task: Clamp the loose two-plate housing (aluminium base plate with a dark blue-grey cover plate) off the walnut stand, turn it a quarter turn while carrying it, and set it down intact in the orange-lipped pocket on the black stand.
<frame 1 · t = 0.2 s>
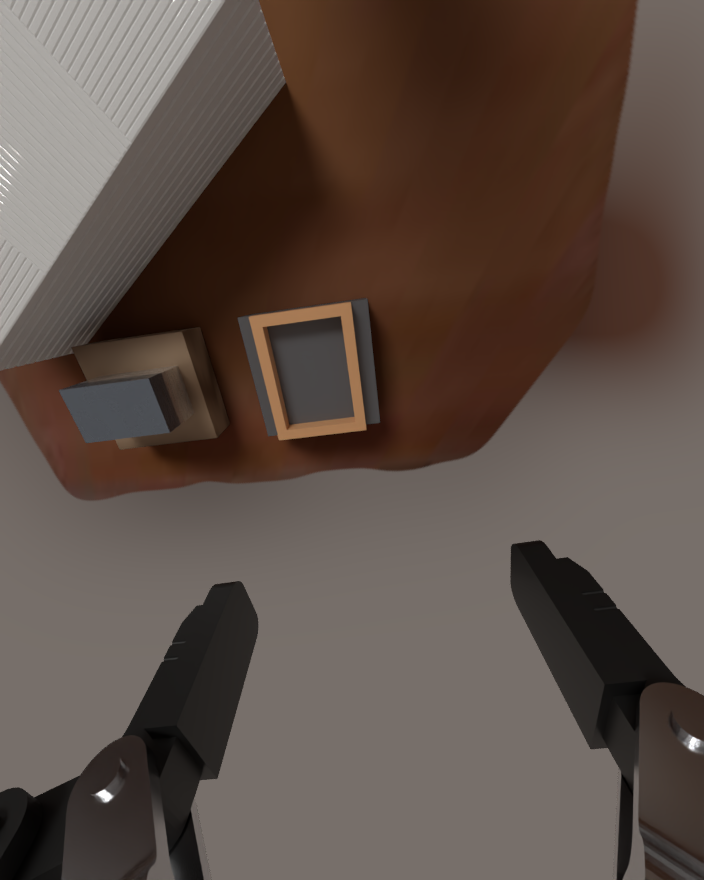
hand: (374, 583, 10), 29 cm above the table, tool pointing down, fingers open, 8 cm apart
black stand: (317, 365, 36), on the table
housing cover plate: (130, 404, 31), point 7 cm above the table, touching housing base plate
walnut stand: (168, 384, 37), on the table
stack of papers: (121, 185, 30), on the table
housing base plate: (148, 395, 33), point 4 cm above the table, touching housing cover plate, walnut stand
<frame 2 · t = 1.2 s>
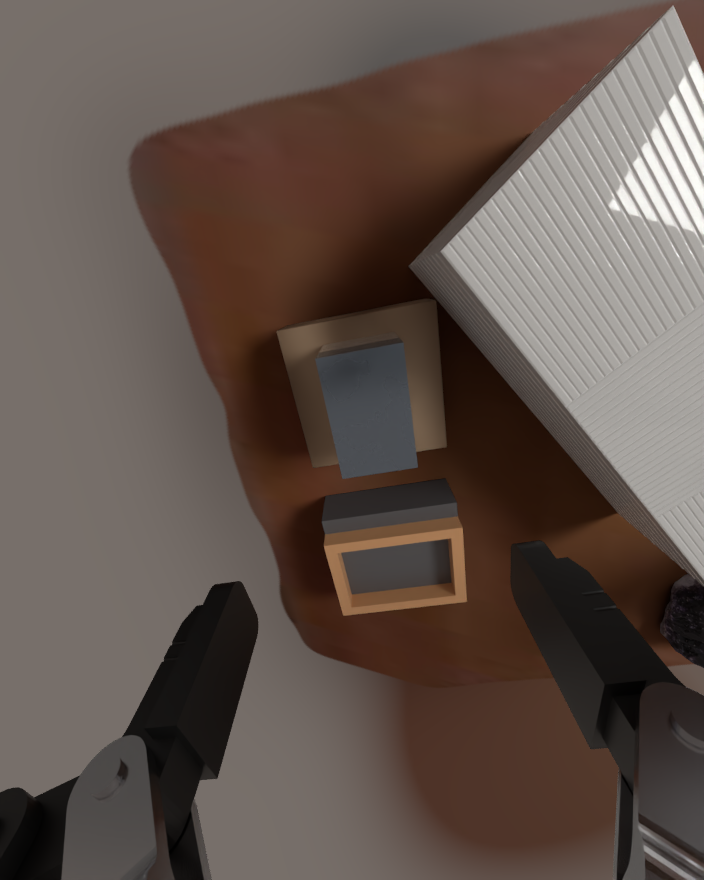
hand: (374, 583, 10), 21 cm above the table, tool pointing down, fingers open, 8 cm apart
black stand: (392, 534, 35), on the table
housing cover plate: (369, 406, 22), point 7 cm above the table, touching housing base plate
walnut stand: (366, 379, 28), on the table
stack of papers: (581, 364, 28), on the table
housing base plate: (367, 393, 24), point 4 cm above the table, touching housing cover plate, walnut stand
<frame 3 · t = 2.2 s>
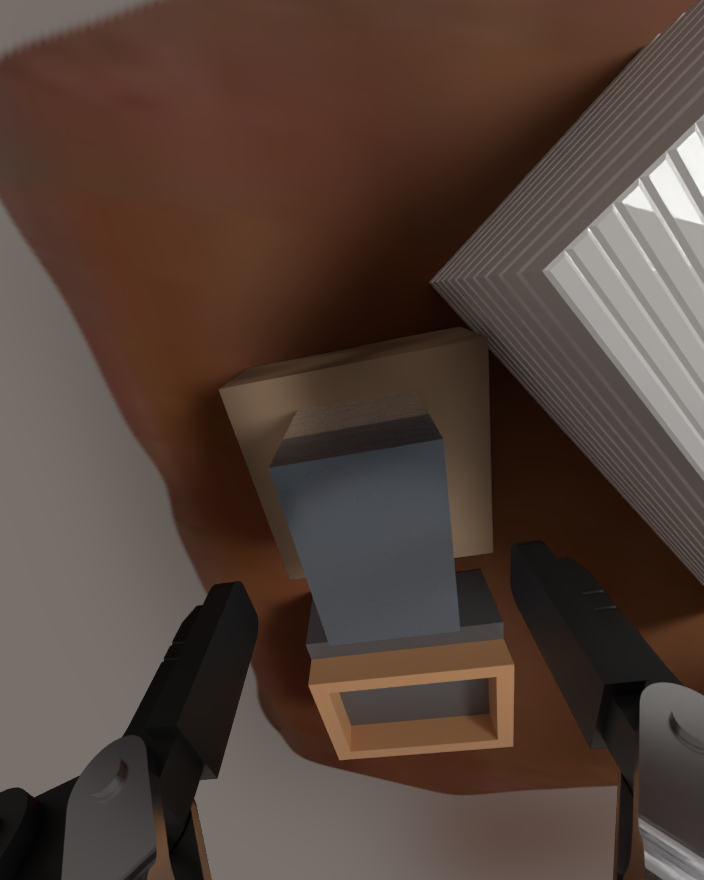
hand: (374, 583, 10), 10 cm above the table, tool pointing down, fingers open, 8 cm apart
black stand: (405, 635, 26), on the table
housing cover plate: (373, 521, 13), point 7 cm above the table, touching housing base plate
walnut stand: (368, 443, 19), on the table
stack of papers: (689, 416, 19), on the table
housing base plate: (371, 480, 15), point 4 cm above the table, touching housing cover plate, walnut stand
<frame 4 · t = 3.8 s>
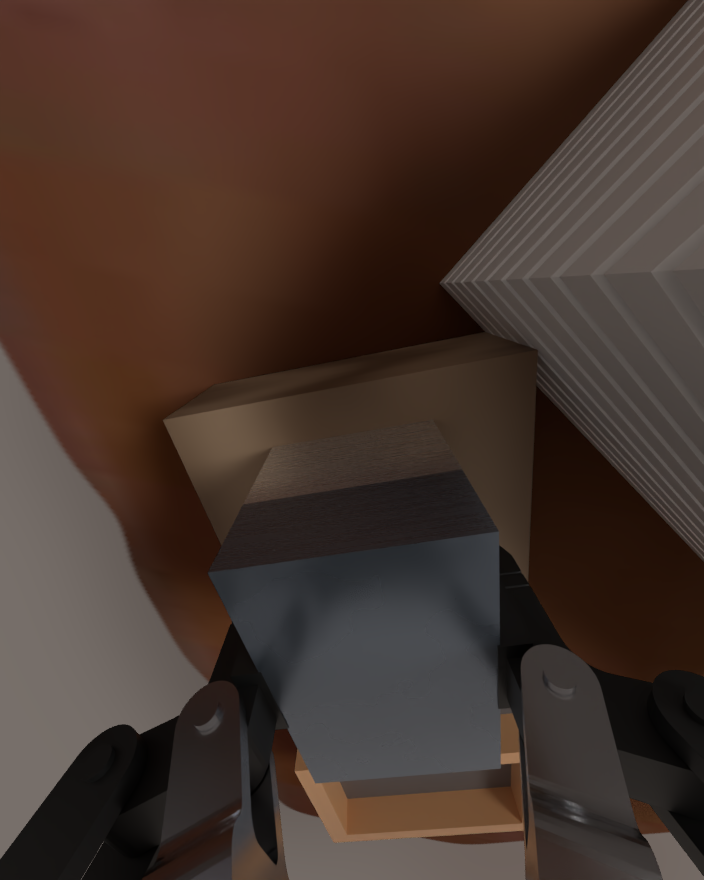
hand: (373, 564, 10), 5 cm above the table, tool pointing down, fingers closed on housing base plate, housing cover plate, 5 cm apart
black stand: (410, 687, 22), on the table
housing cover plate: (377, 609, 9), point 7 cm above the table, touching gripper, housing base plate
walnut stand: (368, 476, 15), on the table
housing base plate: (372, 534, 12), point 4 cm above the table, touching gripper, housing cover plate, walnut stand
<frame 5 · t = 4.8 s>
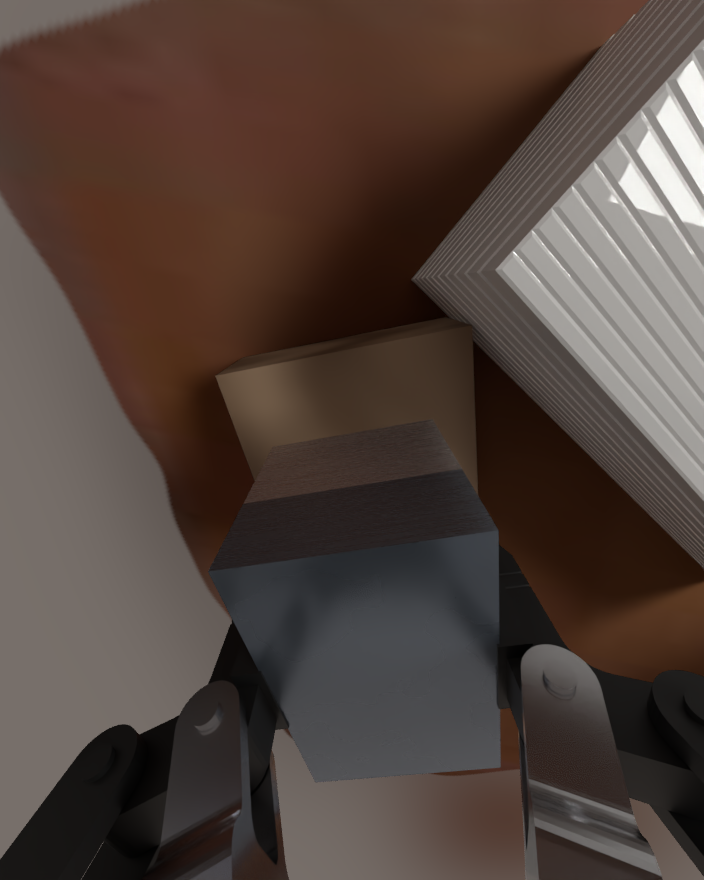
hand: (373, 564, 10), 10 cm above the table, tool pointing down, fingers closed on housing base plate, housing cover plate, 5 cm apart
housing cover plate: (377, 608, 9), point 12 cm above the table, touching gripper, housing base plate
walnut stand: (360, 431, 20), on the table
stack of papers: (668, 395, 19), on the table
housing base plate: (372, 533, 12), point 9 cm above the table, touching gripper, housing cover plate
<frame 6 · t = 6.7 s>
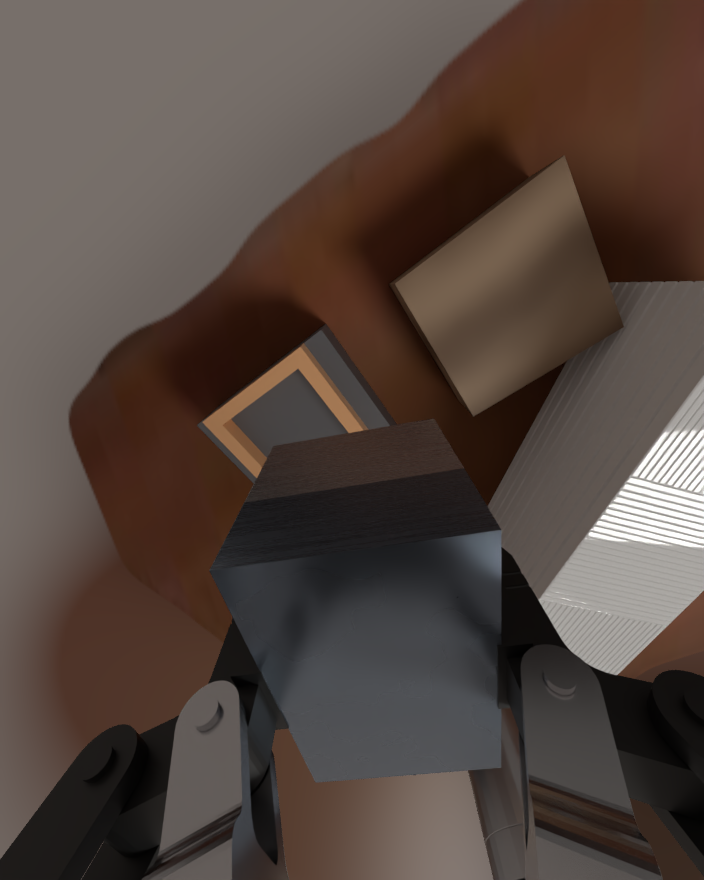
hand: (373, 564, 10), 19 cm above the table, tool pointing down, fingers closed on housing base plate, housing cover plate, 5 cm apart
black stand: (313, 422, 29), on the table
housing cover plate: (378, 607, 9), point 21 cm above the table, touching gripper, housing base plate
walnut stand: (489, 303, 25), on the table
stack of papers: (558, 475, 32), on the table
housing base plate: (372, 533, 12), point 18 cm above the table, touching gripper, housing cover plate
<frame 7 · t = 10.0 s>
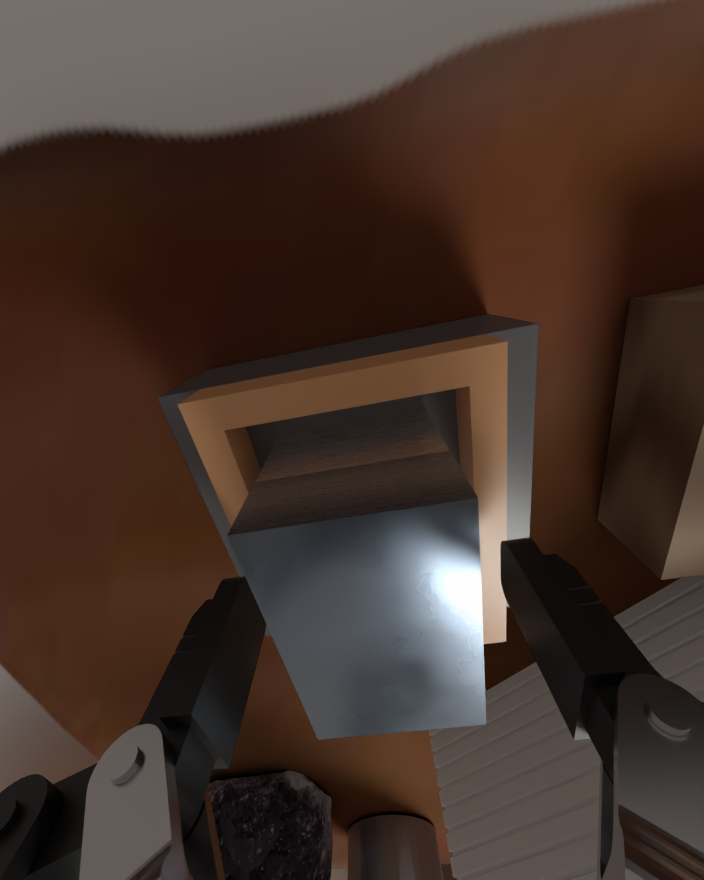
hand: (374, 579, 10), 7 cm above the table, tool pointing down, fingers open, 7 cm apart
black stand: (366, 465, 16), on the table
crystal cluster: (267, 794, 32), on the table
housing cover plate: (375, 580, 10), point 7 cm above the table, touching housing base plate
stack of papers: (646, 648, 23), on the table
housing base plate: (370, 518, 13), point 4 cm above the table, touching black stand, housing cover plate
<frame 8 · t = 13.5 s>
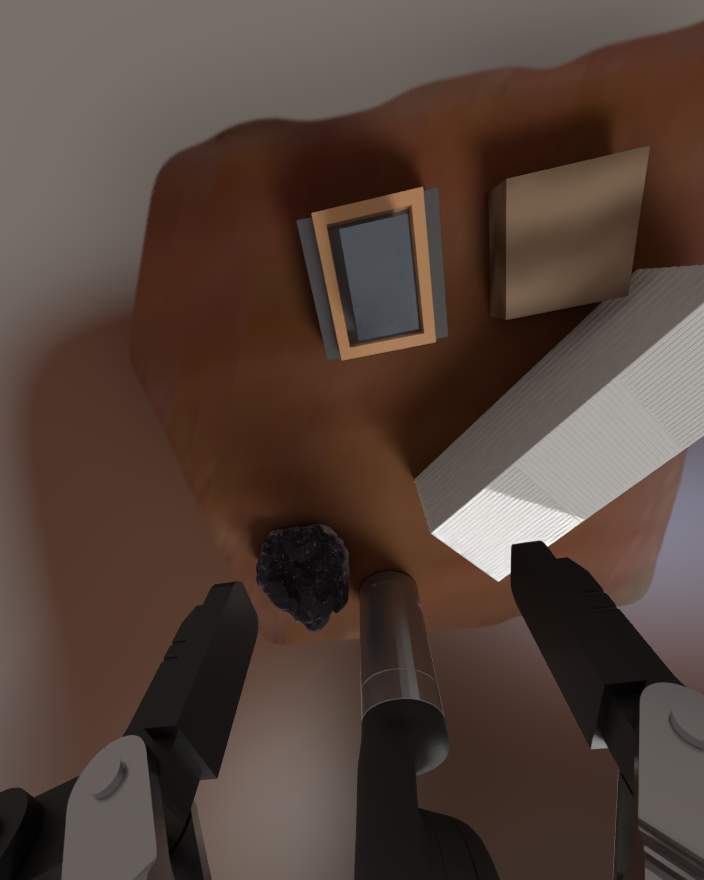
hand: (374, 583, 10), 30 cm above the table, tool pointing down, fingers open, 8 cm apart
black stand: (374, 283, 34), on the table
crystal cluster: (307, 553, 49), on the table
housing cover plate: (379, 282, 27), point 7 cm above the table, touching housing base plate
walnut stand: (546, 246, 32), on the table
stack of papers: (536, 415, 40), on the table
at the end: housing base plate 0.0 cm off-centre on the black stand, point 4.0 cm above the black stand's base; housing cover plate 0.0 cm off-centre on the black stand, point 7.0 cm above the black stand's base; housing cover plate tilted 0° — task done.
